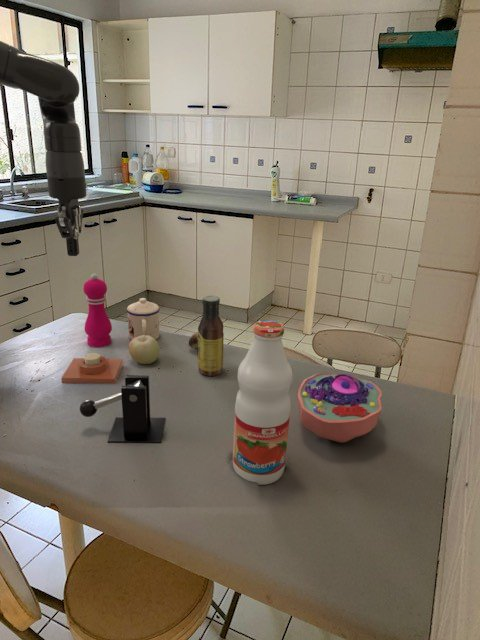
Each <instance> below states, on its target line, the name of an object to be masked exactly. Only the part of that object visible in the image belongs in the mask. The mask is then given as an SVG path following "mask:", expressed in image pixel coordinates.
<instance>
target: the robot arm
mask: <svg viewBox="0 0 480 640" xmlns="http://www.w3.org/2000/svg"><path fill="white" fill-rule="evenodd" d="M0 85H2V86H4V87H7V88H11V89H15V90H21V91H24V92H25V93H28V94H30V95H33V96H36V97H37V98H38V99H37V100H38V103H39V104H38V105H39V110H40V115H41V119H42V124H43V125H42V126H43V139H44V150H45V170H46V171H45V172H46V180H47V189H48V195H49V197H50V198H52V199H56V200H58V205H57V208H56V211H57V216H55V218H54V222H55V224H56V227H57V229H58V232H59V235H60V236H61V238H62V239H64V240H65V242H66V251H67V256H69V257H77V256H78V255H79V254H80V244H79V238H80V234H81V233H82V226H83V218H84V208H82V207H81V205H80V202H79V200H81V199H85V198H86V197H87V185H86V184H87V183H86V172H85V162H84V158H83V157H84V156H83V152H82V137H81V130H80V127H79V124H78V122H77V121H76V111H75V102H76V101H77V99H78V97H79V95H80V91H81V90H80V82H79V80H78V78H77V76H76V75H75V74H74V72H73V71H72V70H70V69H69V68H67V67H66V66H64V65H62V64H59V63H57V62H55V61H52V60H49V59H46V58H43V57H41V56H37V55H34V54H31V53H28V52H25V51H23V50H21V49H18V48H16V47H15V46H13V45H10V44H8V43H6V42H4V41H1V40H0Z"/></svg>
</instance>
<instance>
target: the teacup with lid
mask: <svg viewBox="0 0 480 640" xmlns="http://www.w3.org/2000/svg"><path fill="white" fill-rule="evenodd" d="M126 312H127V324H128V328H127V329H128V338H129V340H131V341H132V340H133V339H134V338H136V337H138V336H142V335H145V334H147V335H149V336H151V337H153V338H154V339H155V340H156V341H157V340H158V339H159V337H160V306H159V305H158V304H157V303H155V302H151V301H148V300H147V298H146V297H141V298H140V297H139V300H138V301H136V302H133V303H130V304H129V305H128V306H127V308H126Z"/></svg>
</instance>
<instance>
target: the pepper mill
mask: <svg viewBox="0 0 480 640" xmlns="http://www.w3.org/2000/svg"><path fill="white" fill-rule="evenodd" d="M82 290H83V293H84V294H85V295H86V297H85V299H86V304H88V312H87V317H86V320H85V323H84V333H85V334H86V335H87V337H86V339H87V341H86V342H87V345H88V346H90V347H93V348H102V347H106V346H108V345H110V344H111V343H112V336H111V333H112V331H113V325H112V321H111V319H110V318H109V316H108V314H107V311H106V308H105V303H106V301H107V297H106V294H107V291H108V286H107V284H106V282H105V281H104V280H103V279H100V278H99V276H98V274H97V273H95V272H93V273H92V274H91V275H90V279H87V280H86V281H85V282H84V284H83V289H82Z"/></svg>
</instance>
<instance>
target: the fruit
mask: <svg viewBox="0 0 480 640" xmlns="http://www.w3.org/2000/svg"><path fill="white" fill-rule="evenodd" d="M128 353H129V355H130V357H131V359H133V361H135V362H136V363H138V364H139V365H150V364H152V363H154V362H156V360H157V359H158V357H159V354H160V346H159V342H158V341H157V339H156V340H155V339H154V338H153V337H151V336H149V335H147V334H145V335H142V336H138V337H136V338H134V339H133V340H131V341H130V342H129V345H128Z"/></svg>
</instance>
